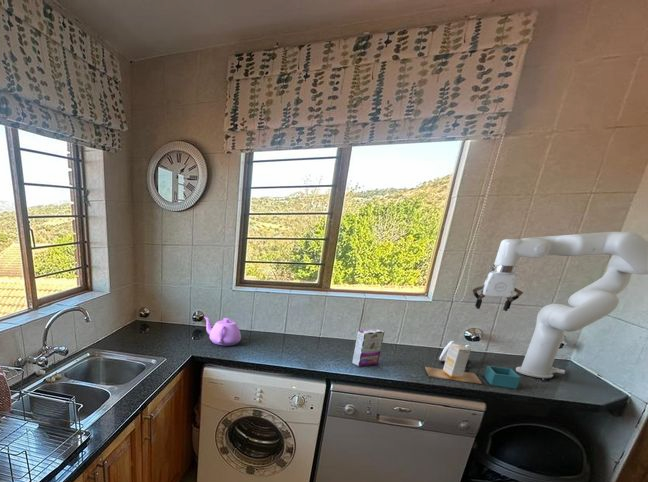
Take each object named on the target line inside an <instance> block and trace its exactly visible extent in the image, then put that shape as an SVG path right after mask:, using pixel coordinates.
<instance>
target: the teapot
mask: <svg viewBox="0 0 648 482" xmlns="http://www.w3.org/2000/svg"><path fill="white" fill-rule="evenodd" d="M203 318H204V319H205V322H206V325H205V326H206V327H205V329H206V333H207V334H208V335H209V339H210V341H211V342H212V343H213V344H215V345H219V346H227V347H232V346H235V345H237V344H238V343H239V342H241V340H242V334H241V330H240V327H239V326H238V325H237V323H236V321H233V320H231V319H230V318H228V317H224V318H222V320H217V322H215V324H214V325H213V327H212V326H211V319H210V318H209V317H207V316H203Z"/></svg>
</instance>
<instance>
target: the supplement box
mask: <svg viewBox="0 0 648 482" xmlns="http://www.w3.org/2000/svg"><path fill="white" fill-rule="evenodd" d="M465 346H466V345H464V344H459V343H455V344H450V347H449V350H448V354H447V357H446V361H445V362H444V365H443V368H442V369H443V372H445V373H446V374H447V375H449V376H450V377H456V378H462V377H463V373H464V372H465V370H466V367H467V364H468V360H469V358H470V355H471V348H470V349H469V348H467V347H465Z"/></svg>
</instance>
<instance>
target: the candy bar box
mask: <svg viewBox="0 0 648 482" xmlns="http://www.w3.org/2000/svg"><path fill="white" fill-rule="evenodd" d="M356 334H357V335H356V340H355V344H354V345H355V346H354V351H353V356H352V362H351V364H352V365H355V366H357V367H366V366H375V365H378V364H379V360H380V356H381V350H382V346H383V341H384V337H385V331H384V330H381V329H379V328H377V329H364V330H358V331H357V333H356Z"/></svg>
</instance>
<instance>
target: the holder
mask: <svg viewBox="0 0 648 482" xmlns="http://www.w3.org/2000/svg"><path fill="white" fill-rule="evenodd" d="M483 377H484V378H485V380H486V381H487V382H488V383H489V385H491V386H494V387H495V386H496V387H501V388H509V389H518V386H519V384H520V381H521V376H520V375H519V374H518V372H517V371H516V370H514V369H512V368H509V367H500V366H493V365H486V368H485V370H484V373H483Z"/></svg>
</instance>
